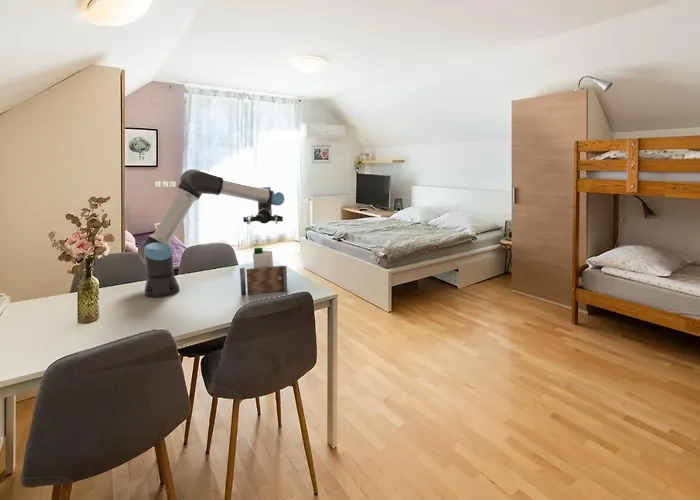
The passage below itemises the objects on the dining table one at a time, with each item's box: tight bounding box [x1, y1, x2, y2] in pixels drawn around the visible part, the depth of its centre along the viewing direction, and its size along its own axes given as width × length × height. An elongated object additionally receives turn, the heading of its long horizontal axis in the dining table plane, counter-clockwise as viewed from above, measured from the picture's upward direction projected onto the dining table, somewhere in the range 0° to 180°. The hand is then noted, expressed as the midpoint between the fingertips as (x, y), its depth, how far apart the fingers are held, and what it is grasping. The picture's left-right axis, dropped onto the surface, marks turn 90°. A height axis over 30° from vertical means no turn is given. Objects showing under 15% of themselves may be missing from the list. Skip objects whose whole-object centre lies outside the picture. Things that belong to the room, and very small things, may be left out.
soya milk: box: [252, 247, 274, 268], centre depth 198 cm, size 9×9×20 cm
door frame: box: [239, 264, 288, 296], centre depth 190 cm, size 22×2×13 cm, turn 106°
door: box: [246, 265, 283, 295], centre depth 191 cm, size 18×4×12 cm, turn 111°
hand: (262, 221), depth 202 cm, fingers open, 13 cm apart
